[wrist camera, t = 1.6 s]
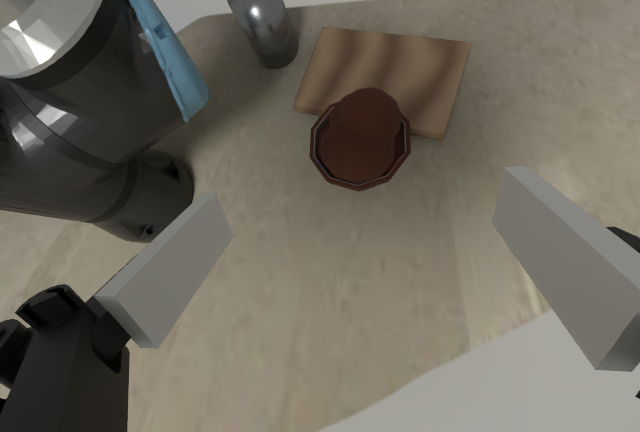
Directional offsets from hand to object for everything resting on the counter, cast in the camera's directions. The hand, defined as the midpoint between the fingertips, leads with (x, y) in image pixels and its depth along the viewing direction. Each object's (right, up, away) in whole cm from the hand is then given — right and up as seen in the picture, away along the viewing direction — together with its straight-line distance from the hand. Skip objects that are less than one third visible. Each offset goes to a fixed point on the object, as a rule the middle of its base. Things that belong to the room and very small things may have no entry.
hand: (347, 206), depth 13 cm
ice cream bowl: (+5, +6, +25) cm, 26 cm away
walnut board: (+7, +20, +27) cm, 34 cm away
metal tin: (-8, +27, +32) cm, 43 cm away
